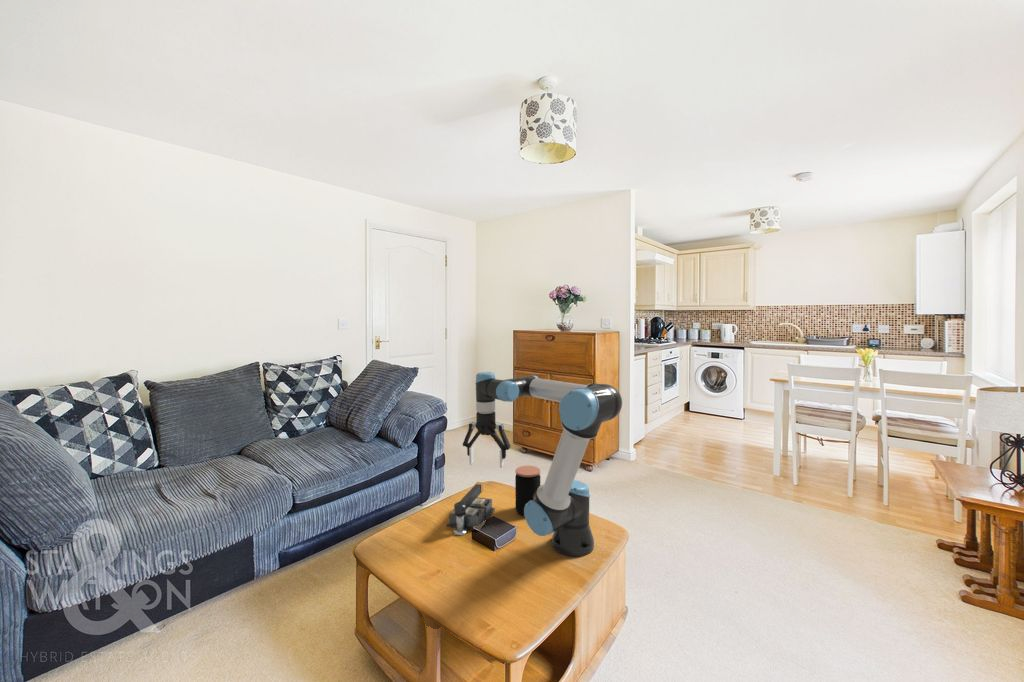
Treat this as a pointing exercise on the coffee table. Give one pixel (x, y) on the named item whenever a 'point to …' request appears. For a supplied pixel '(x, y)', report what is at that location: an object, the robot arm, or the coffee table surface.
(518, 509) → the coffee jar
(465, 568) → the coffee table surface
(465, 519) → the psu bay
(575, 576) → the coffee table surface
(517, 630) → the coffee table surface
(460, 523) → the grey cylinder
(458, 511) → the swing arm
